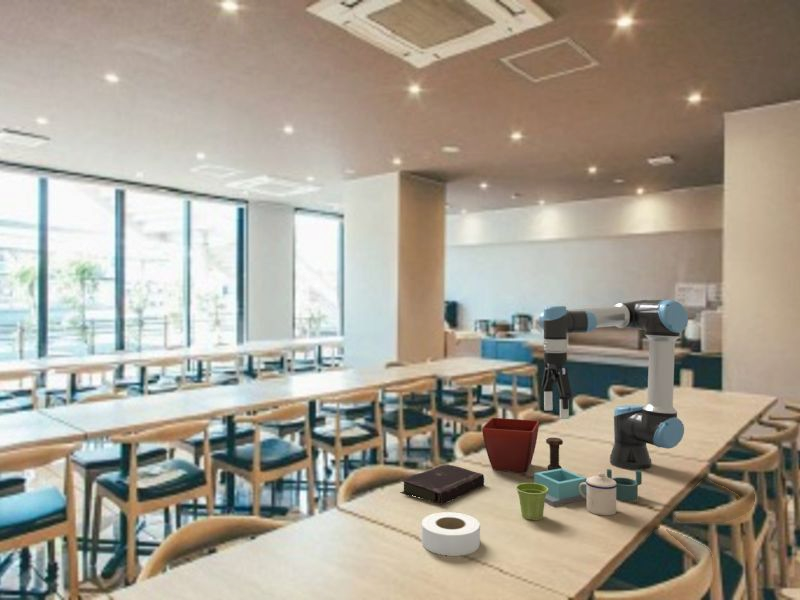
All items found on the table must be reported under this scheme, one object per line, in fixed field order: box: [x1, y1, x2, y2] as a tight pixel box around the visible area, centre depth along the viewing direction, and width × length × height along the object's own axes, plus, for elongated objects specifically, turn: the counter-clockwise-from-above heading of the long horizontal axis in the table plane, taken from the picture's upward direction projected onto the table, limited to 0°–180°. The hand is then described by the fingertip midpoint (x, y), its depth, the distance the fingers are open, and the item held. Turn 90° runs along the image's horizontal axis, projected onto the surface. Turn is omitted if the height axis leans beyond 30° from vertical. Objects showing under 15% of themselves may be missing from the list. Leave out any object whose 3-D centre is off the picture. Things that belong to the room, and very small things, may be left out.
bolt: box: [545, 437, 564, 471], centre depth 197 cm, size 6×5×15 cm
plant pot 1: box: [481, 417, 540, 474], centre depth 213 cm, size 19×19×17 cm
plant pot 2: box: [515, 482, 548, 521], centre depth 165 cm, size 9×9×9 cm
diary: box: [399, 463, 485, 506], centre depth 189 cm, size 19×25×5 cm
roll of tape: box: [421, 511, 481, 557], centre depth 148 cm, size 16×16×6 cm
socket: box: [533, 468, 588, 507], centre depth 183 cm, size 18×13×6 cm
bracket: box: [606, 468, 643, 502], centre depth 181 cm, size 9×9×9 cm
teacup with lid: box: [579, 471, 617, 517], centre depth 170 cm, size 12×9×12 cm
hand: (556, 414), depth 185 cm, fingers open, 13 cm apart
